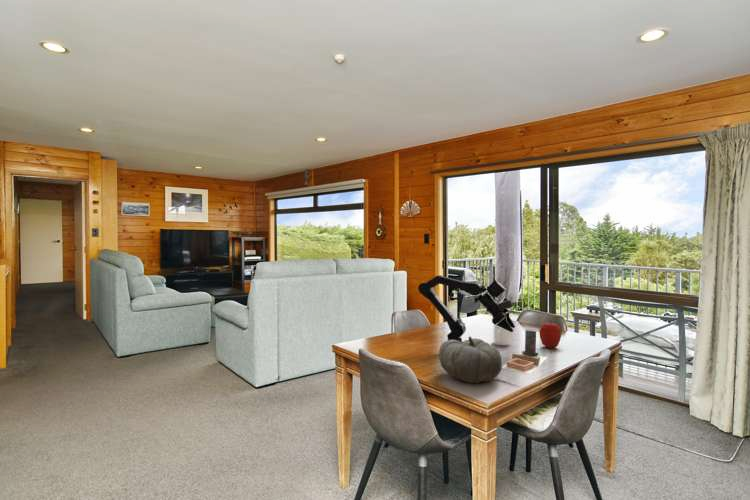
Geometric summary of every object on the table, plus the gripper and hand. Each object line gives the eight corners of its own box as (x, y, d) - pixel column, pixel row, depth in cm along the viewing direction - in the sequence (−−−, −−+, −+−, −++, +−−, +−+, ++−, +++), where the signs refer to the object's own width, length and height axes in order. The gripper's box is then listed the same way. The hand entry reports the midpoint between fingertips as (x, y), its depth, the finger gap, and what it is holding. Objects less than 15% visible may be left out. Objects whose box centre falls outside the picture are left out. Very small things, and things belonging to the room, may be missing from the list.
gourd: (422, 369, 157) (431, 327, 158) (457, 366, 175) (465, 328, 175) (476, 394, 139) (486, 346, 140) (509, 388, 157) (517, 345, 157)
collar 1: (506, 366, 168) (506, 361, 168) (516, 362, 173) (516, 358, 173) (524, 371, 162) (524, 366, 162) (533, 367, 167) (533, 362, 167)
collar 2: (520, 359, 178) (520, 355, 178) (521, 354, 185) (521, 350, 185) (539, 361, 174) (539, 357, 174) (539, 357, 182) (540, 352, 182)
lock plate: (530, 376, 159) (530, 366, 159) (501, 370, 166) (501, 360, 166) (547, 359, 181) (547, 351, 181) (521, 354, 188) (521, 346, 188)
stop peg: (524, 358, 179) (525, 330, 178) (525, 356, 183) (526, 328, 182) (535, 360, 177) (535, 331, 176) (535, 357, 181) (536, 329, 180)
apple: (556, 345, 206) (557, 319, 205) (564, 350, 196) (564, 323, 196) (536, 344, 207) (537, 318, 207) (542, 349, 197) (543, 322, 197)
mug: (504, 349, 197) (505, 329, 196) (488, 346, 202) (489, 326, 201) (512, 344, 206) (513, 325, 206) (497, 342, 211) (497, 323, 211)
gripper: (500, 295, 176) (525, 322, 171) (504, 290, 193) (528, 315, 188) (481, 311, 179) (506, 338, 175) (487, 305, 196) (510, 329, 192)
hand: (513, 329), depth 182 cm, fingers open, 9 cm apart
